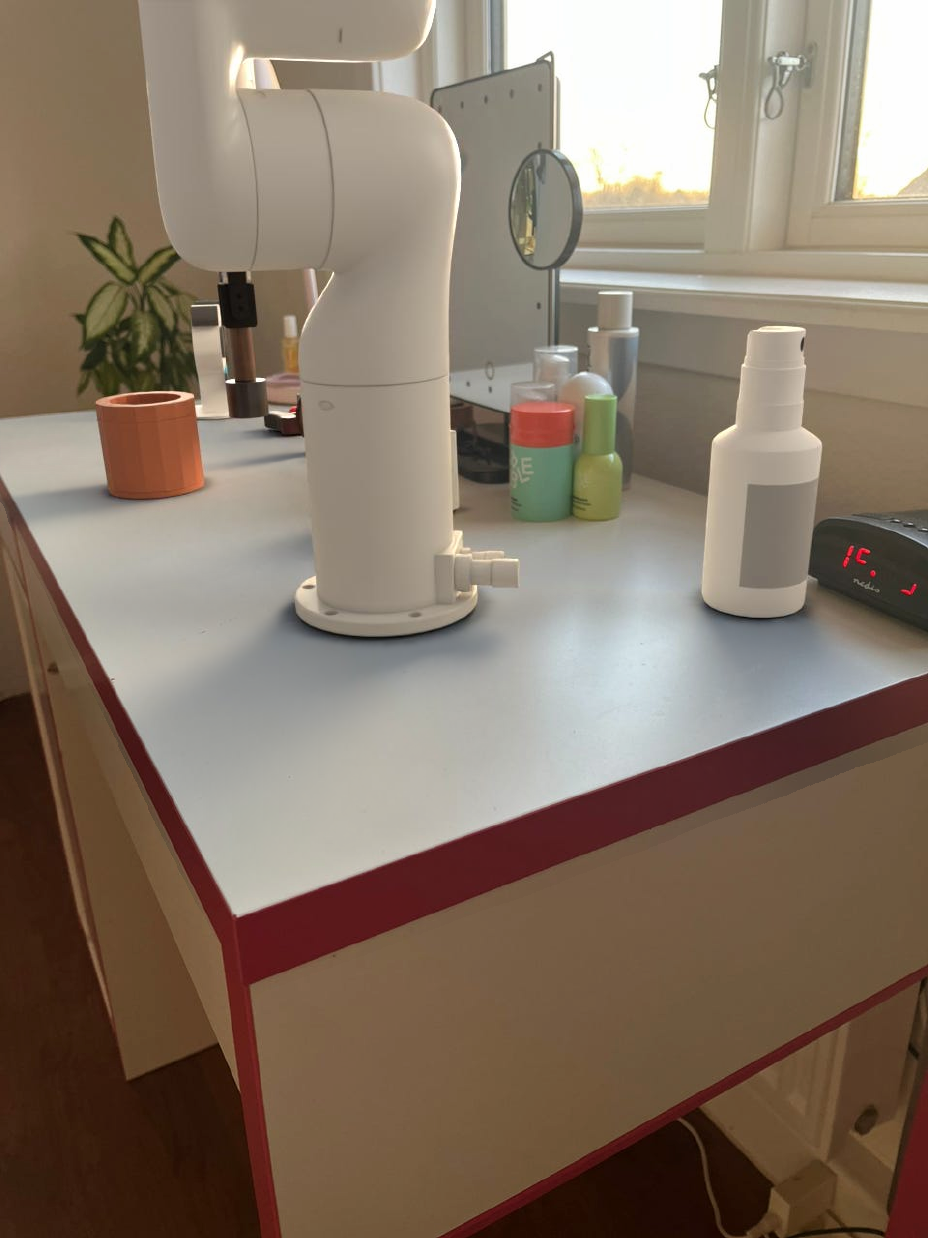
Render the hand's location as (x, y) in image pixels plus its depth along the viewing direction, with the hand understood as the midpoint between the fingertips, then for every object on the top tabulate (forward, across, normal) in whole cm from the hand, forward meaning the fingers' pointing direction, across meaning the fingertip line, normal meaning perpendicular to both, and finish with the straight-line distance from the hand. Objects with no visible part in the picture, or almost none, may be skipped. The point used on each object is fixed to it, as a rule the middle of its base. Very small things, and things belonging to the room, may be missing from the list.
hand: (239, 324), depth 98 cm
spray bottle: (+17, -49, -28) cm, 59 cm away
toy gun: (+15, +27, -10) cm, 33 cm away
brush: (+9, 0, 0) cm, 9 cm away
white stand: (+15, +44, +1) cm, 46 cm away
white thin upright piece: (+16, -18, -12) cm, 27 cm away
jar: (+16, +1, +10) cm, 18 cm away
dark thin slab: (+16, +9, -11) cm, 21 cm away
